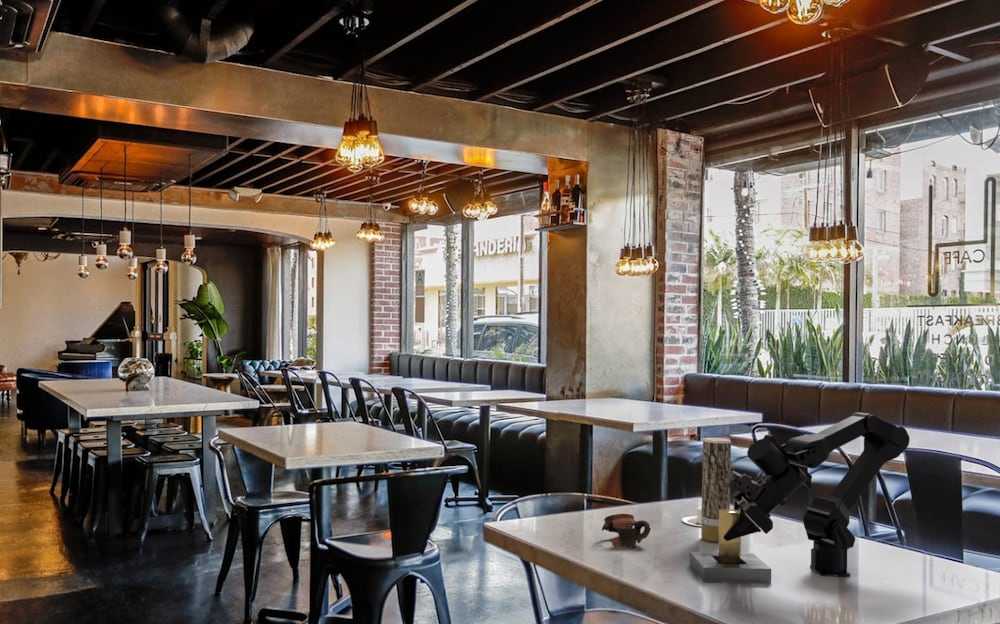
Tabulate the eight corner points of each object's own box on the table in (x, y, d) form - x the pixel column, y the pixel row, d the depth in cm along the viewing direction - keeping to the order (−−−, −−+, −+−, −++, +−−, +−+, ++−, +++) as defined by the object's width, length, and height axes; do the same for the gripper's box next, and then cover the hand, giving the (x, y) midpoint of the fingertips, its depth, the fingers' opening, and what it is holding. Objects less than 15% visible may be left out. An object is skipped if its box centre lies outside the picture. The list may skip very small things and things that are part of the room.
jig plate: (752, 566, 182) (752, 553, 182) (771, 583, 170) (771, 568, 170) (689, 565, 182) (689, 551, 182) (703, 582, 170) (704, 567, 170)
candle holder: (673, 520, 227) (674, 504, 227) (711, 518, 230) (712, 502, 230) (696, 530, 215) (696, 514, 215) (736, 528, 219) (736, 512, 219)
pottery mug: (600, 549, 195) (596, 515, 200) (611, 558, 203) (607, 525, 207) (649, 541, 192) (644, 507, 196) (658, 550, 199) (653, 517, 203)
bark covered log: (726, 536, 208) (728, 438, 208) (731, 543, 201) (733, 441, 201) (699, 535, 208) (701, 437, 209) (703, 542, 202) (705, 440, 202)
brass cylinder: (736, 564, 178) (737, 509, 178) (743, 570, 173) (744, 514, 174) (715, 564, 178) (716, 508, 178) (721, 570, 173) (722, 513, 174)
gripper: (743, 452, 185) (692, 499, 186) (757, 466, 166) (700, 518, 168) (779, 489, 183) (727, 536, 185) (797, 507, 165) (739, 559, 166)
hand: (723, 536), depth 176 cm, fingers closed on brass cylinder, 4 cm apart
